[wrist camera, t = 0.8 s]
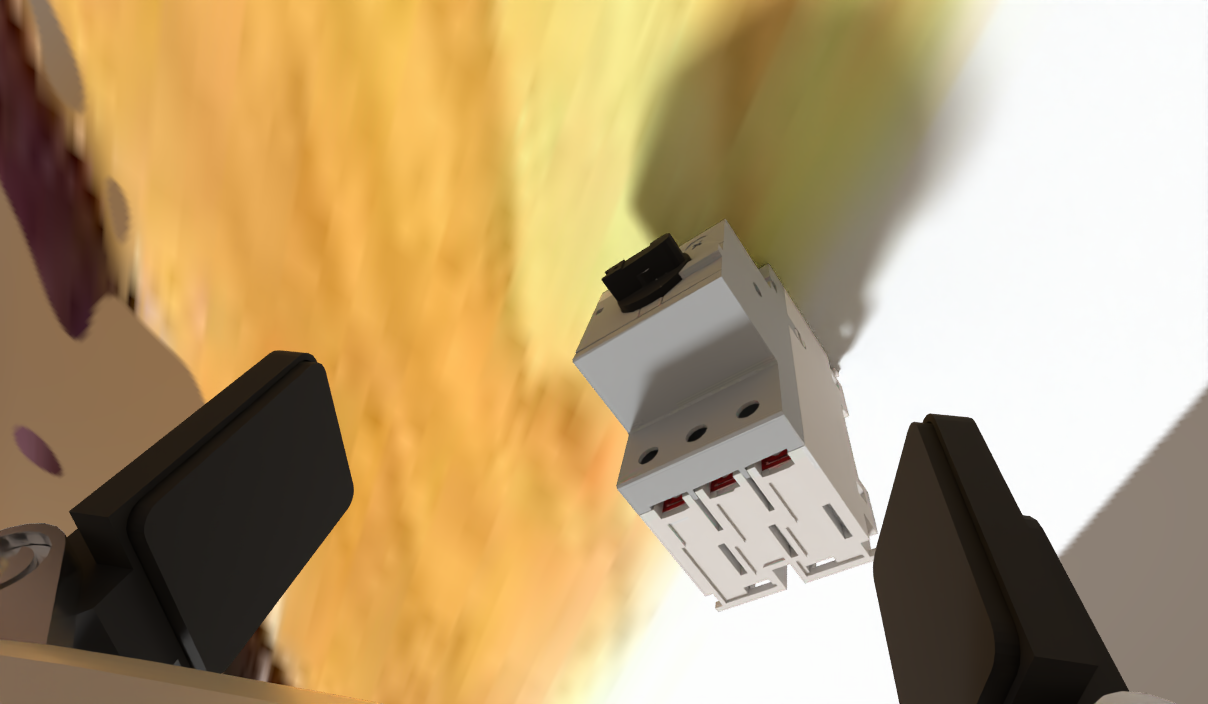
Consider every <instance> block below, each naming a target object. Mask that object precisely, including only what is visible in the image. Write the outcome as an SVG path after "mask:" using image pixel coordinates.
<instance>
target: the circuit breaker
mask: <svg viewBox="0 0 1208 704" xmlns="http://www.w3.org/2000/svg"><path fill="white" fill-rule="evenodd" d="M605 273H606V276H605V277H603V278H602V281H603V283H604V284H605V285H606V287H607V288H608V290H607V291H605V292H604V293H602V295H601V298H600V300H599V302H598V304H597V306H596V309H595V311H594V313H593V315H592V317H591V320H590V322H589V324H588V326H587V328H586V331H585V333H584V335H583V337H582V339H581V342H580V344H579V346H578V348H577V350H576V354H575V356H574V358H573V363H574V364H575V366H576V367H577V368H578V369H579V371H580V372H581V373H582V374H583V376H584V377H585V378H586V380H587V381H588V382H589V383H590V385H591V386H592V387H593V388H594V390H595V391H596V392H597V394H598V395H599V396H600V397H601V399H602V400H603V401H604V403H605V404H606V405H607V406H608V408H609V409H610V410H611V411H612V413H613V414H614V415H615V417H616V418H617V419H618V420H619V422H620V423H621V424H622V425H623V427H624V428H625V429H626V431H627V432H628V434H629V437H628V441H627V445H626V449H625V453H624V457H623V461H622V465H621V469H620V473H619V477H618V481H617V485H616V486H617V489H618V491H619V492H620V493H621V494H622V495H623V497H624V498H625V499H626V500H627V502H628V503H629V504H630V505H631V506H632V508H633V509H634V510H635V511H636V513H637V514H638V515H639V516H640V517H641V519H642V520H643V521H644V522H645V523H646V525H647V526H648V527H649V528H650V530H651V531H652V532H653V533H654V534H655V536H656V537H657V538H658V539H659V541H660V542H661V543H662V544H663V545H664V547H665V548H666V549H667V550H668V551H669V553H670V554H671V555H672V556H673V558H674V559H675V560H676V561H677V562H678V564H679V565H680V566H681V567H682V568H683V570H684V571H685V572H686V573H687V575H688V576H689V577H690V578H691V579H692V581H693V582H694V583H695V584H696V585H697V587H698V588H699V589H700V590H701V592H702V593H703V594H704V595H705V596H708V595H711V594H714V596H715V597H716V598H717V599H718V600H719V601H718V602H716V607H715V609H716V610H717V611H718V612H720V611H723V610H726V609H729V608H732V607H735V606H738V605H741V604H744V603H747V602H750V601H753V600H756V599H759V598H762V597H765V596H768V595H771V594H775V593H778V592H781V591H784V590H787V565H788V564H791V566H792V567H793V568H794V570H795V571H796V572H797V574H798V575H799V576H800V578H801V579H802V580H803V582H804V583H808V582H811V581H814V580H817V579H820V578H823V577H826V576H829V575H832V574H835V573H838V572H841V571H844V570H847V569H850V568H853V567H856V566H859V565H862V564H865V563H868V562H871V561H874V555H875V551H876V548H874V549H871V547H870V541H869V540H870V539H869V536H872V535H875V534H878V533H877V528H876V523H875V519H874V515H873V511H872V507H871V503H870V499H869V495H868V492H867V490H866V489H865V487H864V486H863V484H862V483H861V481H860V480H859V478H858V474H857V470H856V466H855V461H854V457H853V453H852V449H851V444H850V440H849V436H848V432H847V427H846V423H845V419H844V418H846V417H848V416H849V414H848V410H847V406H846V402H845V398H844V394H843V390H842V386H841V385H840V383H839V382H838V380H837V378H836V377H838V376H839V374H838V372H837V370H836V368H833V369H830V365H829V360H828V356H827V354H826V353H825V351H824V350H823V348H822V346H821V345H820V343H819V342H818V340H817V338H816V337H815V335H814V334H813V332H812V331H811V329H810V327H809V326H808V324H807V323H806V321H805V320H804V318H803V316H802V315H801V313H800V312H799V310H798V309H797V307H796V305H795V304H794V302H793V301H792V299H791V297H790V296H789V294H788V293H787V291H786V290H785V288H784V287H783V285H782V283H781V282H780V280H779V279H778V277H777V275H776V274H775V272H774V271H773V269H772V268H771V266H770V264H767V265H765V266H763V267H761V268H760V269H758V268H757V267H756V265H755V264H754V262H753V260H752V259H751V257H750V256H749V254H748V253H747V251H746V250H745V248H744V246H743V245H742V243H741V242H740V240H739V239H738V237H737V236H736V234H735V233H734V231H733V229H732V228H731V226H730V225H729V223H728V222H727V220H726V219H724V220H722V221H721V222H719V223H717V224H716V225H714V226H712V227H711V228H709V229H707V230H706V231H704V232H703V233H701V234H699V235H698V236H696V237H694V238H693V239H691V240H689V241H688V242H686V243H684V244H683V245H681V246H680V247H678V245H677V244H676V242H675V241H674V239H673V238H672V236H671V235H670V233H669V234H665V235H663V236H661V237H660V238H658V239H656V240H655V241H653V242H652V243H650V246H649V247H647V248H645V249H644V250H642V251H641V252H639V253H637V254H636V255H634V256H632V257H631V258H629V259H628V260H626V261H625V260H623V261H621V262H619V263H618V264H616V265H615V266H613V267H611V268H610V269H608V270H607V271H605ZM832 557H834V559H835V561H832V562H829V563H826V564H823V565H820V566H817V567H816V563H817V562H820V561H823V560H826V559H829V558H832ZM767 579H769V580H770V581H771V582H770V583H767V584H764V585H761V586H758V587H755V584H756V583H759V582H762V581H764V580H767Z"/></svg>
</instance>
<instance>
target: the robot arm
mask: <svg viewBox="0 0 1208 704" xmlns="http://www.w3.org/2000/svg"><path fill="white" fill-rule="evenodd" d="M353 493H354V487H353V482H352V477H351V473H350V469H349V465H348V461H347V457H346V453H345V449H344V445H343V441H342V436H341V432H340V428H339V424H338V420H337V416H336V412H335V408H334V404H333V400H332V395H331V391H330V387H329V383H328V379H327V375H326V371H325V369H324V367H323V366H322V364H320V363H317V361H316V359H315V358H314V356H313V355H311V354H309V353H300V352H290V351H273V352H272V353H270V354H268V355H267V356H266V357H265V358H263V359H262V360H261V361H260V362H258V363H257V364H256V365H254V366H253V367H252V368H251V369H249V370H248V371H247V372H246V373H244V374H243V375H242V376H240V377H239V378H238V379H237V380H235V381H234V382H233V383H232V384H230V385H229V386H228V387H226V388H225V389H224V390H223V391H221V392H220V393H219V394H218V395H216V396H215V397H214V398H213V399H211V400H210V401H209V402H207V403H206V404H205V405H204V406H202V407H201V408H200V409H199V410H197V411H196V412H195V413H193V414H192V415H191V416H190V417H188V418H187V419H186V420H185V421H183V422H182V423H181V424H180V425H179V426H177V427H176V428H174V429H173V430H172V431H171V432H169V433H168V434H167V435H166V436H164V437H163V438H162V439H160V440H159V441H158V442H157V443H155V444H154V445H153V446H152V447H150V448H149V449H148V450H146V451H145V452H144V453H143V454H141V455H140V456H139V457H138V458H136V459H135V460H134V461H133V462H131V463H130V464H129V465H127V466H126V467H125V468H124V469H122V470H121V471H120V472H119V473H117V474H116V475H115V476H114V477H112V478H111V479H110V480H108V481H107V482H106V483H105V484H103V485H102V486H101V487H99V488H98V489H97V490H96V491H94V492H93V493H92V494H91V495H90V496H88V497H87V498H86V499H84V500H83V501H82V502H80V503H79V504H78V505H77V506H75V507H74V508H73V509H71V510H70V511H69V512H70V514H71V516H72V518H73V520H74V522H75V524H76V526H77V528H78V529H77V530H75V531H74V532H73V533H72V534H71V535H69V536H68V537H66V535H65V534H64V532H63V531H61V530H60V529H59V528H58V527H57V526H53V525H49V524H45V523H39V524H38V523H37V524H24V525H19V526H14V527H10V528H6V529H3V530H0V704H382V703H376V702H371V701H366V700H360V699H355V698H350V697H344V696H339V695H334V694H328V693H323V692H318V691H312V690H307V689H301V688H296V687H290V686H285V685H279V684H274V683H268V682H263V681H257V680H252V679H246V678H241V677H235V676H230V675H224V674H221V673H223V672H224V671H225V670H226V669H227V668H228V667H229V666H230V664H231V663H232V662H233V660H234V659H235V658H236V656H237V655H238V654H239V652H240V651H241V650H242V648H243V647H244V646H245V644H246V643H247V642H248V640H249V639H250V638H251V636H252V635H253V634H254V632H255V631H256V630H257V628H258V627H259V626H260V625H261V623H262V622H263V621H264V619H265V618H266V617H267V615H268V614H269V613H270V611H271V610H272V609H273V607H274V606H275V605H276V603H277V602H278V601H279V599H280V598H281V597H282V595H283V594H284V593H285V591H286V590H287V589H288V587H289V586H290V585H291V583H292V582H293V581H294V579H295V578H296V577H297V575H298V574H299V573H300V571H301V570H302V569H303V567H304V566H305V565H306V563H307V562H308V561H309V559H310V558H311V557H312V555H313V554H314V553H315V552H316V550H317V549H318V548H319V546H320V545H321V544H322V542H323V541H324V540H325V538H326V537H327V536H328V534H329V533H330V532H331V530H332V529H333V528H334V526H335V525H336V524H337V522H338V521H339V520H340V518H341V517H342V516H343V514H344V513H345V512H346V510H347V509H348V507H349V506H350V504H351V501H352V498H353ZM873 576H874V583H875V587H876V592H877V597H878V602H879V607H880V612H881V616H882V621H883V626H884V631H885V636H886V641H887V645H888V650H889V655H890V660H891V665H892V670H893V674H894V679H895V684H896V689H897V694H898V699H899V703H900V704H1176V703H1174V702H1172V701H1169V700H1166V699H1162V698H1159V697H1156V696H1153V695H1150V694H1147V693H1138V692H1129V690H1128V688H1127V686H1126V684H1125V682H1124V680H1123V679H1122V677H1121V675H1120V673H1119V671H1118V669H1117V667H1116V666H1115V664H1114V662H1113V660H1112V658H1111V656H1110V654H1109V652H1108V651H1107V649H1106V647H1105V645H1104V643H1103V641H1102V639H1101V637H1100V635H1099V634H1098V632H1097V630H1096V628H1095V626H1094V624H1093V622H1092V620H1091V619H1090V617H1089V615H1088V613H1087V611H1086V609H1085V607H1084V605H1083V603H1082V601H1081V600H1080V598H1079V596H1078V594H1077V592H1076V590H1075V588H1074V586H1073V585H1072V583H1071V581H1070V579H1069V577H1068V575H1067V574H1066V571H1065V570H1064V568H1063V566H1062V564H1061V562H1060V560H1059V558H1058V556H1057V554H1056V553H1055V551H1054V549H1053V547H1052V545H1051V543H1050V541H1049V539H1048V538H1047V536H1046V534H1045V532H1044V530H1043V528H1042V527H1041V526H1040V524H1039V523H1038V521H1037V520H1035V519H1034V518H1032V517H1030V516H1024V515H1022V513H1021V511H1020V509H1019V507H1018V506H1017V504H1016V502H1015V500H1014V498H1013V496H1012V494H1011V492H1010V490H1009V488H1008V486H1007V484H1006V482H1005V480H1004V478H1003V476H1002V474H1001V472H1000V470H999V468H998V466H997V464H996V462H995V460H994V458H993V456H992V454H991V452H990V450H989V448H988V446H987V444H986V442H985V440H984V438H983V436H982V435H981V433H980V431H979V429H978V427H977V425H976V423H975V421H974V420H973V419H972V418H969V417H959V416H949V415H939V414H928V415H926V417H925V418H924V420H923V423H919V422H913V423H911V425H910V426H909V429H908V432H907V436H906V440H905V443H904V447H903V451H902V454H901V458H900V462H899V465H898V469H897V473H896V477H895V480H894V484H893V488H892V491H891V495H890V499H889V502H888V506H887V510H886V514H885V517H884V521H883V525H882V528H881V532H880V536H879V539H878V543H877V547H876V551H875V555H874V562H873Z"/></svg>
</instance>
